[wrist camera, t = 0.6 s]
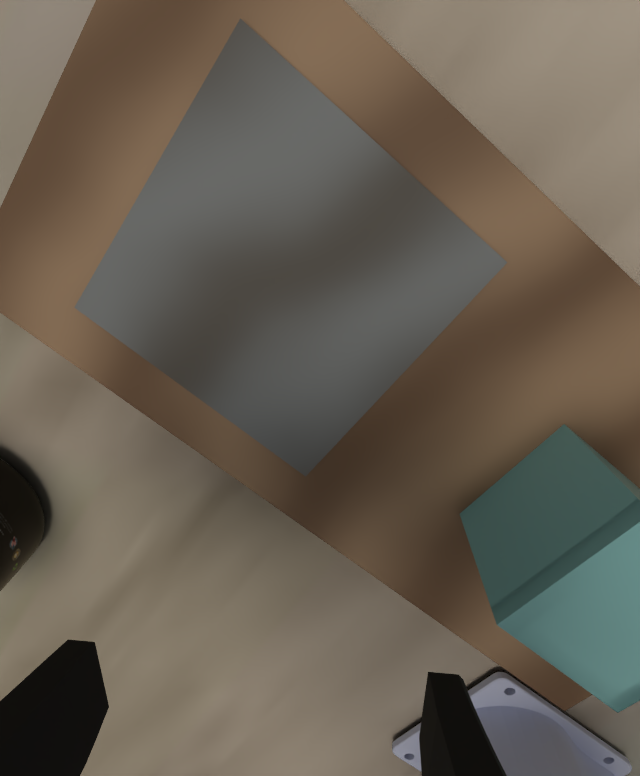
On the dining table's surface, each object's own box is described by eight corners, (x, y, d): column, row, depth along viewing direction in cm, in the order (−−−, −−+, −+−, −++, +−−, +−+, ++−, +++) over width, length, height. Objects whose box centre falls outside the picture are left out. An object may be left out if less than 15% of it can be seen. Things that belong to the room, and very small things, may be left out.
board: (840, 496, 17) (1018, 600, 13) (551, 679, 22) (603, 805, 17) (193, -123, 12) (93, -328, 8) (-4, 280, 17) (-142, 305, 12)
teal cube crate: (659, 505, 16) (779, 620, 12) (550, 583, 18) (617, 712, 13) (564, 423, 15) (651, 513, 11) (459, 513, 17) (496, 625, 12)
